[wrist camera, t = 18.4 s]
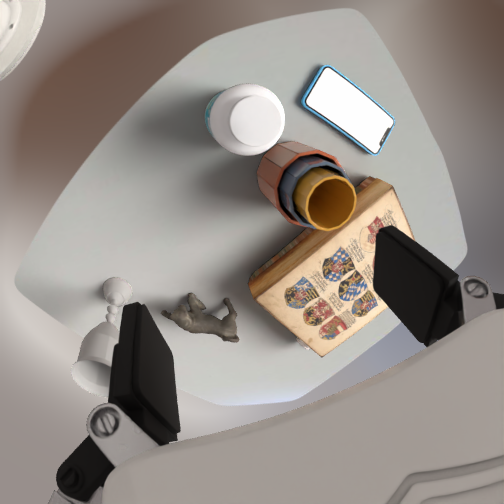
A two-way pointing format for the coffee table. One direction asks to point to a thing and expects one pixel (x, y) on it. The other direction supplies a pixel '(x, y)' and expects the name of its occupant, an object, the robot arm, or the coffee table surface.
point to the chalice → (101, 343)
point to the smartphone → (348, 109)
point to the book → (330, 273)
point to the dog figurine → (205, 320)
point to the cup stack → (291, 175)
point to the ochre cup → (324, 198)
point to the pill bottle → (245, 119)
